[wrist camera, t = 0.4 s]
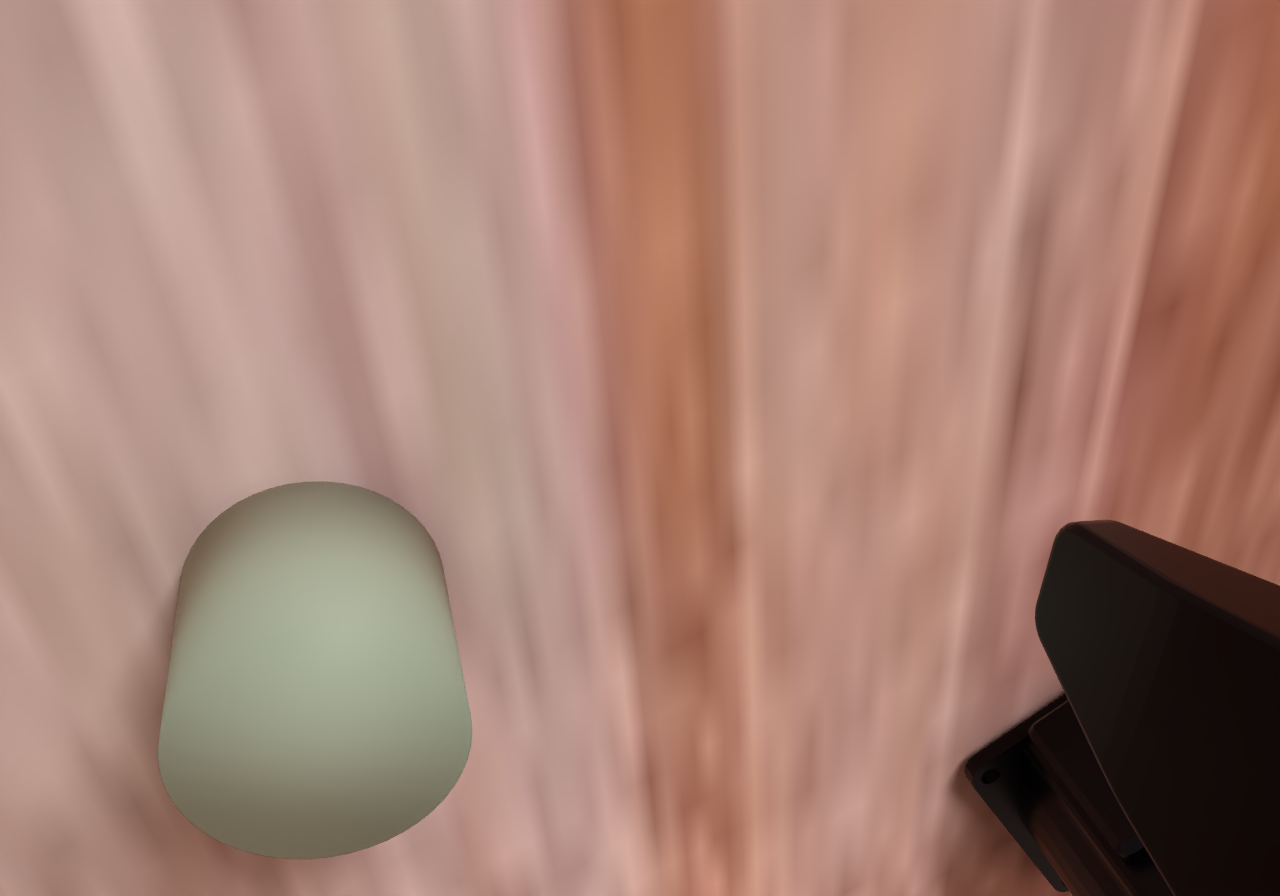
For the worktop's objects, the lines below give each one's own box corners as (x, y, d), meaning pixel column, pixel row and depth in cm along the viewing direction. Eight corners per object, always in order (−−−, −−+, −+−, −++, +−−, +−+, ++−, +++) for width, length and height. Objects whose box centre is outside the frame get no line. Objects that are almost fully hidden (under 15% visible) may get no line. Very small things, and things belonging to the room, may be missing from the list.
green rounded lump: (493, 592, 25) (530, 742, 21) (305, 730, 25) (307, 901, 22) (327, 431, 22) (335, 570, 18) (120, 588, 23) (86, 755, 19)
